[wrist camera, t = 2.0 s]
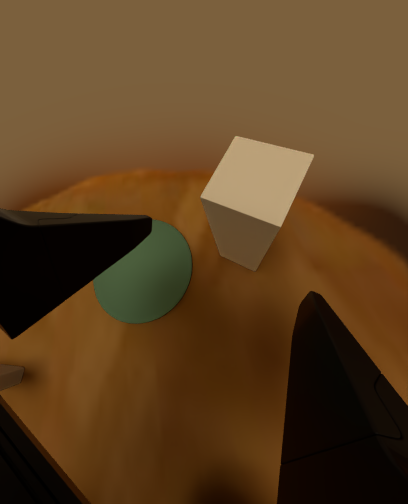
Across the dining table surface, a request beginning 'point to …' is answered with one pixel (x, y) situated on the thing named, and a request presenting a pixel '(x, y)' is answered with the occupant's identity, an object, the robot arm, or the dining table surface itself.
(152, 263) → the green mat
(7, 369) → the lighter
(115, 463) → the dining table surface
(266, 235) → the cream block
